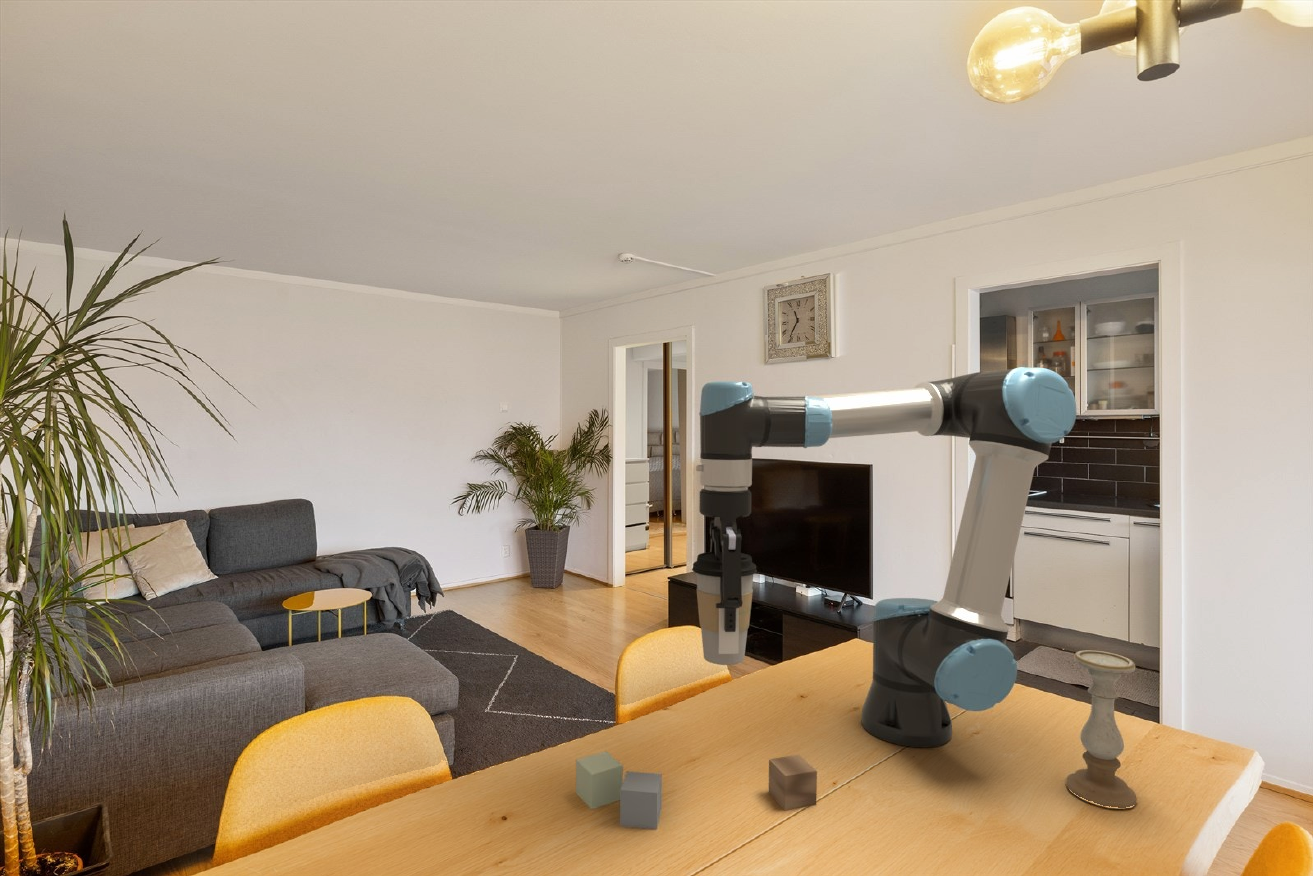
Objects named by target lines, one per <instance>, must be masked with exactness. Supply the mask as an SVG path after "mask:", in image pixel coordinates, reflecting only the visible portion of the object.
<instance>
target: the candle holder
mask: <svg viewBox="0 0 1313 876" xmlns="http://www.w3.org/2000/svg"><path fill="white" fill-rule="evenodd" d="M1073 660H1074V662H1075V663H1076V664H1078V665H1079V666H1081V667H1084V668H1086V672H1087V674H1088V675H1089V676H1090V677H1091V679H1092V680H1091V681H1092V683H1091V685H1090V686H1089V688H1088V689H1087V692H1088V694H1089V695H1091V709H1090V714H1089V717H1088V719H1087V720H1086V722H1085V724H1084V726H1083V727H1082V729H1081V731H1080V733H1079V735H1080V736H1079V737H1080V742H1081V745H1082V746H1083V747H1084V749H1085V750H1086V751H1084V752H1083V753H1082V754H1081V755H1082V759H1083V760H1084V761H1085V764H1086V767H1087V768H1081V769H1078V770H1076V771H1075V772H1072V773H1070V774H1068V775H1067V777H1066V779H1065V785H1067V786H1066V788H1067V787H1068V788H1069V789H1070V790H1071V791H1072V792H1073V793H1075V794H1076V795H1078V796H1079V797H1082V798H1084V799H1086V800H1088V801H1093V802H1094V803H1097V804H1100V805H1103V806H1109V807H1110V806H1111V807H1118V808H1126V807H1130V806H1133V805H1135V804H1137V802H1136V801H1138V800H1137V799H1138V797H1137V794H1136V792H1135V791H1134V790H1133V789H1132V788H1131V787H1130V786H1129V785H1128V783H1127V782H1126V781H1124V779H1122V778H1120V777H1119V776H1117V775H1116V772H1117V771H1118V769H1120V768H1121V765H1122V764H1121V761H1120V759H1118V757H1119V756H1121V754H1122V753H1123V751H1124V748H1125V743H1124V739H1123V736H1122V734H1121V731H1120V729H1119V727H1118V725H1117V722H1116V719H1115V718H1116V717H1115V700H1117V699H1118V698H1119V697H1120V695H1119V693H1118V692H1117V690H1116V689H1115V684H1116V682H1117V681H1118V680H1120V679H1121V677H1122V675H1123V674H1124V675H1125V674H1131V673H1134V672H1135V671H1136V664H1135V662H1134V661H1133V660H1132V659H1130V658H1128V657H1125V656H1123V655H1120V654H1116V653H1113V652H1108V651H1102V650H1094V649H1093V650H1091V649H1085V650H1078V651H1076V652H1075V653H1074V655H1073ZM1068 788H1067V789H1068ZM1135 806H1136V805H1135Z"/></svg>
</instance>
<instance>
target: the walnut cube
mask: <svg viewBox="0 0 1313 876" xmlns="http://www.w3.org/2000/svg"><path fill="white" fill-rule="evenodd" d="M817 780H818V771H817V769H816V768H814V767H813V766H812V765H811V764H810V763H809V762H808V761H807V760H805V759H804V758H803V756H801V755H800V754H794V755H788V756H782V757H781V756H780V757H775V758H769V759H768V793H769V795H770V796H771V797H772V798H773V799H774V800H775V802H777V804H778V805H779V806H780V807H781V808H782V809H783V810H784V812H786V811H792V810H797V809H802V808H807V807H812V806H817V792H818V791H817V789H818V788H817V787H818V785H817V784H818V781H817Z"/></svg>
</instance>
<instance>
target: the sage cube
mask: <svg viewBox="0 0 1313 876" xmlns="http://www.w3.org/2000/svg"><path fill="white" fill-rule="evenodd" d="M575 760H576V761H575V793H576V795H577V796H578V798H581V799H580V800H582V801H583V802H584V803H585V804H586V805H587V807H589V808H590V809H591V810H593V809H597V808H599V807H604V806H606V805H609V804H612V803H616V802H619V801H620V790H621V787H622V784H623V781H624V776H623V775H624V764H622V763H621V762H620V761H619V760H618V759H617V758H615V757H614V756H613V755H612V754H611V753H609V752H608V751H607V750H605V751H601V752H599V753H595V754H592V755H588V756H584V757H581V758H577V759H575Z"/></svg>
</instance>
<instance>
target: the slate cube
mask: <svg viewBox="0 0 1313 876" xmlns="http://www.w3.org/2000/svg"><path fill="white" fill-rule="evenodd" d="M662 776H663V774H662V773H657V772H656V773H653V772H642V771H641V772H640V771H626V773H625V775H624V777H623V784H622V787H621V790H620V800H619V801H620V802H619V805H620V806H619V810H620V811H619V826H620V827H626V828H627V827H628V828H638V829H647V830H648V829H649V830H650V829H651V830H658V825H659V821H660V817H661V812H662V797H663V795H662V794H663V793H662V791H663V790H662V787H663V785H662V782H663V781H662V780H663V779H662V778H663V777H662Z"/></svg>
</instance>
